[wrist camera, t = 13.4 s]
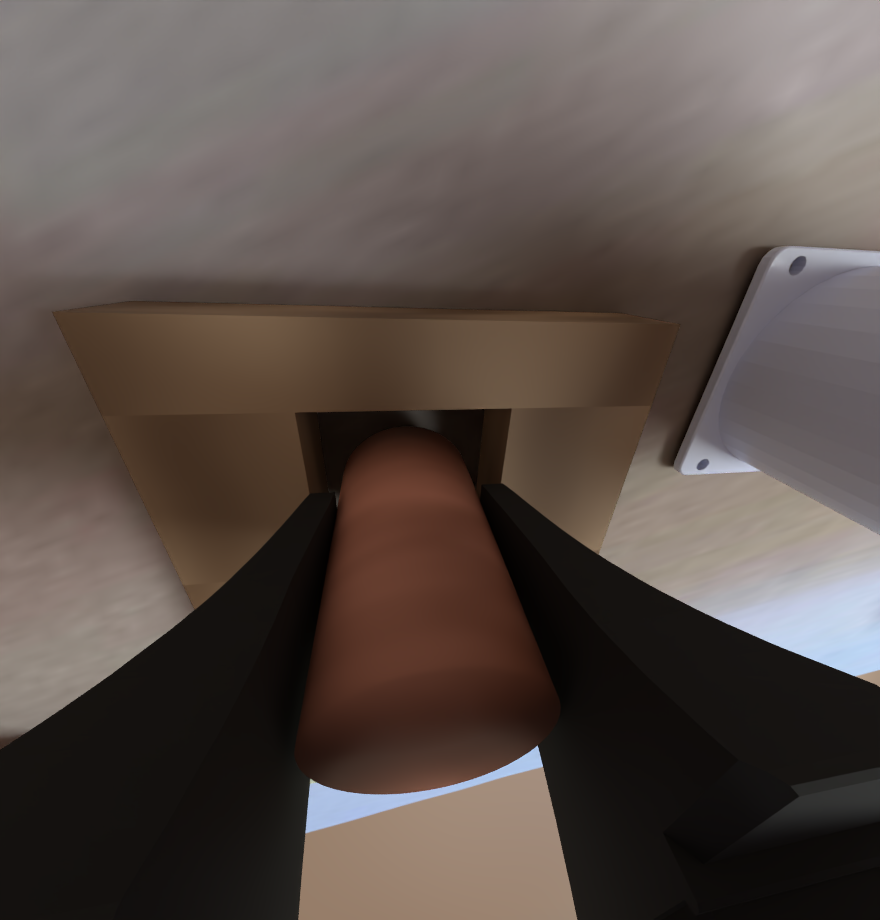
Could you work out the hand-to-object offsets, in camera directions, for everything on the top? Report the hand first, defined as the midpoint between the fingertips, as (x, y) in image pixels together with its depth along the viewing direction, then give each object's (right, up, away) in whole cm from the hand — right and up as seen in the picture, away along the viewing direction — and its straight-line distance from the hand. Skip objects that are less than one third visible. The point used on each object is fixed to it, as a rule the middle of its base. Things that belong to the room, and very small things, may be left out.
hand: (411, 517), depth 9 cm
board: (-1, -2, +5) cm, 5 cm away
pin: (0, +1, +2) cm, 2 cm away
